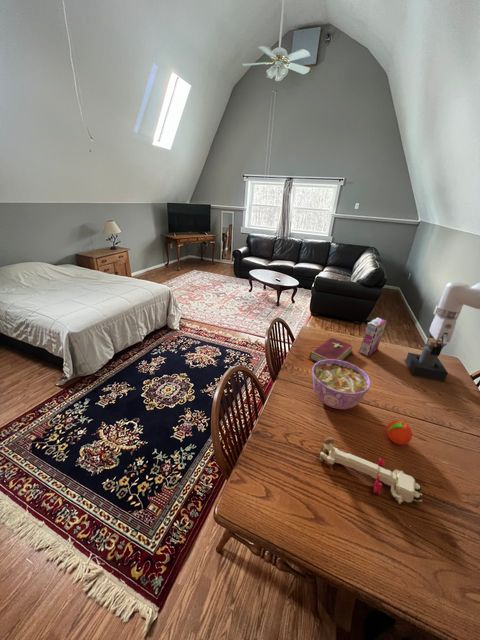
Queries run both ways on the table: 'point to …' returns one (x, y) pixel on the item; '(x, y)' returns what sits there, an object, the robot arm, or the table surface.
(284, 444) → the table surface
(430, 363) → the bottle
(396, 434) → the red tomato
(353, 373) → the bowl of food
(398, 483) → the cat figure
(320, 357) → the hardcover book
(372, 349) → the candy bar box
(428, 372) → the holder
